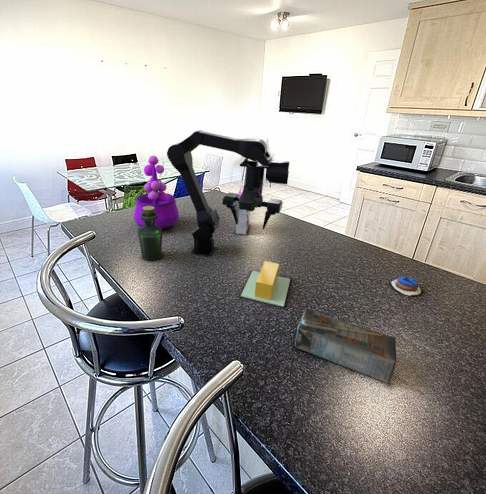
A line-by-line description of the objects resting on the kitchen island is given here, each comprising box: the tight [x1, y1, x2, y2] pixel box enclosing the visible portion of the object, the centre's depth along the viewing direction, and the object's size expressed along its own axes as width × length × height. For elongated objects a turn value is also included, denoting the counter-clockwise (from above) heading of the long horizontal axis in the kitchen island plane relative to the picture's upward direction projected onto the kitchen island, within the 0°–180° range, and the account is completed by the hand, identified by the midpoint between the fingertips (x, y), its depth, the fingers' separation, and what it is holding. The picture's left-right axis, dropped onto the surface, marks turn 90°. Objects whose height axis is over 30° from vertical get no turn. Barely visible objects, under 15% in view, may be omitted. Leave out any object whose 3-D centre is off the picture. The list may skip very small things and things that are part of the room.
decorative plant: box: [133, 155, 180, 230], centre depth 120 cm, size 19×18×30 cm
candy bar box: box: [235, 188, 251, 236], centre depth 121 cm, size 11×5×16 cm, turn 168°
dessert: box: [390, 274, 422, 296], centre depth 87 cm, size 8×7×6 cm
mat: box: [240, 270, 291, 308], centre depth 86 cm, size 12×14×1 cm
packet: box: [255, 260, 280, 300], centre depth 85 cm, size 12×4×5 cm, turn 159°
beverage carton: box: [294, 308, 397, 384], centre depth 63 cm, size 8×19×7 cm, turn 61°
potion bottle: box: [137, 206, 163, 262], centre depth 98 cm, size 8×8×18 cm
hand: (250, 226), depth 98 cm, fingers open, 9 cm apart
